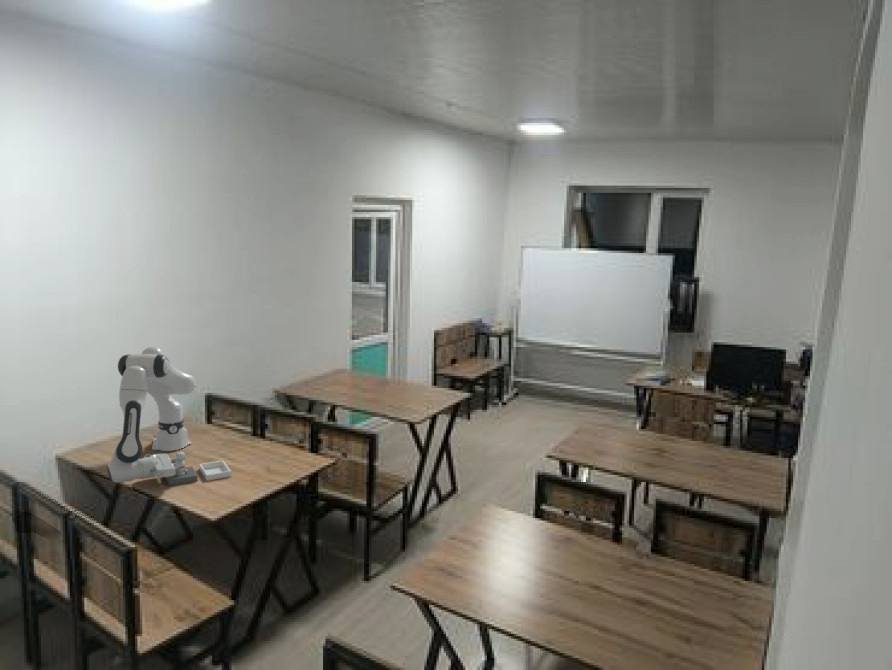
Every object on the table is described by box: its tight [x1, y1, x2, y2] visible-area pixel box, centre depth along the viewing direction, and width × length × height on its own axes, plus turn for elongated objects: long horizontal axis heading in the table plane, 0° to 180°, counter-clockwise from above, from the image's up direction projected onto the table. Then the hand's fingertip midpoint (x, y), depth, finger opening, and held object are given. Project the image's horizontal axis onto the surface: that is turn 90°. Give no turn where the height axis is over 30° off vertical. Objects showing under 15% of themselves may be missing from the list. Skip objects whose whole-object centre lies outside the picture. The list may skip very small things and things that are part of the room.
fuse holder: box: [164, 466, 199, 487], centre depth 295 cm, size 12×12×5 cm
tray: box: [198, 460, 232, 482], centre depth 303 cm, size 15×11×4 cm
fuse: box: [175, 451, 186, 476], centre depth 294 cm, size 4×4×12 cm
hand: (182, 462), depth 294 cm, fingers closed on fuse, 3 cm apart
